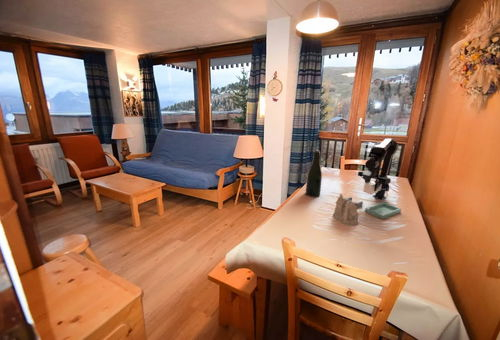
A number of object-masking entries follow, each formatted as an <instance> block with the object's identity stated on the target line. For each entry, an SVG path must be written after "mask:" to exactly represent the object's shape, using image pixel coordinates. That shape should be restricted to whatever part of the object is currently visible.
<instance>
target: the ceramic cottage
mask: <svg viewBox="0 0 500 340" xmlns="http://www.w3.org/2000/svg"><path fill="white" fill-rule="evenodd" d="M349 201H350V200H349V199H347V201H346V200H345V198H344V196H343V194H342V193H340V194H339V196H338V198H337V200H336V201H335V208H334V212H333V213H332V216H333V219H335V220H336V221H338V222H340V223H341V224H343V225H345V226H349V227H355V226H357V225H359V223H360V221H359V212H358V210H357V209H358V207H356V205H355V203H356V202H355V203H354V201H353V202H352V203H350V202H349Z"/></svg>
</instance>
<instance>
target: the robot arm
mask: <svg viewBox="0 0 500 340" xmlns="http://www.w3.org/2000/svg"><path fill="white" fill-rule="evenodd" d="M398 150H399V142H397V141H396V140H395V139H394V138H391V137H389V138H388V137H386V138H384V139H383V141H381V142H380V144H375V145H373V146H372V147H371V149H370V151H369V153H368V155H367V158H369V159H368V160H366V162H365V165H364V166H365V167H366V169H367V170H360V171H358V172H357V176H358V177H361V178H362V179H363V180H364V184H365V183H366V182H371V181H372V179H374V182H375V189H374V191H376V190H377V189H378V188H379V186H380V185H381V184H382V186H381V191H378V192H377V193H374V194H373V195H372V197H374V198H376V199H379V200H384V199H387V196H385V195H386V192H389V191H390V184H391V182H392V181H391V178H389V177H388V174H389V170H390V166H391V163H392V158H393V156H394V155H395V154H396V153H397V151H398Z"/></svg>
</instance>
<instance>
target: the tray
mask: <svg viewBox="0 0 500 340" xmlns="http://www.w3.org/2000/svg"><path fill="white" fill-rule="evenodd" d="M401 211H402V208H400V207H398V206H396V205H392V204H391V203H390V204H389V203H387V202H384V201H383V202H380V203H375V204H373V205H371V206H367V207H365V209H364V212H365V213H367V214H369V215H372V216H373V217H376V218H377V219H380V220H385V219H386V218H389V217H393V216H395V215H397V214H400V213H401Z"/></svg>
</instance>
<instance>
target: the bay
mask: <svg viewBox="0 0 500 340" xmlns="http://www.w3.org/2000/svg"><path fill="white" fill-rule="evenodd" d="M344 199H345V200H346V201H347V199H349V200H350V201H349V202H350V203H352V202H354V201H353V196H349V197H345V198H344ZM354 203H355V205H356V207H357V208H360V207H363V204H364V201H362V200H360V201H357V202H354Z"/></svg>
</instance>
